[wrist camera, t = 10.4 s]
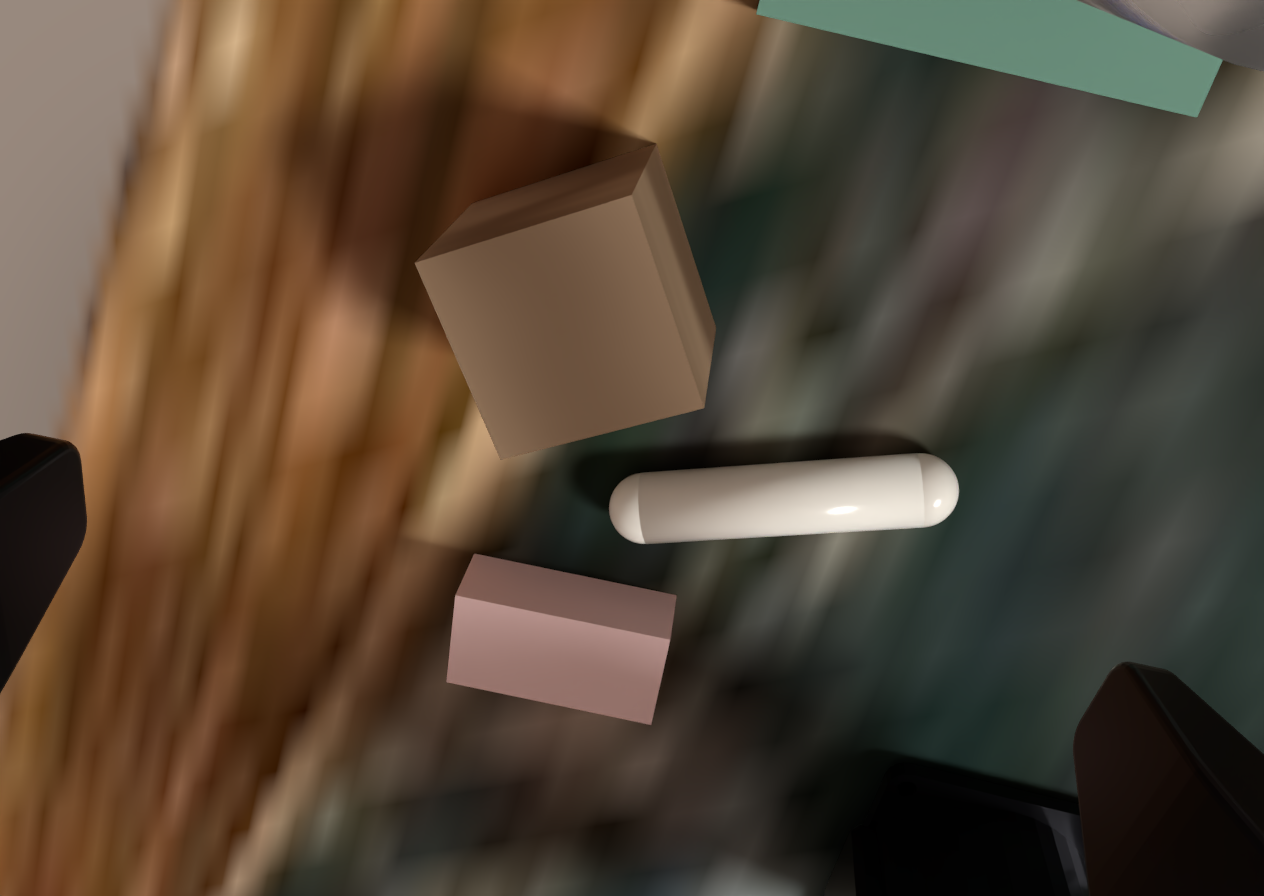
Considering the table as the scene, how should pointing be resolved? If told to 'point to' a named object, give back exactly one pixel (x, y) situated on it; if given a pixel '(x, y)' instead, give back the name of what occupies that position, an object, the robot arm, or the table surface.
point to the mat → (1026, 43)
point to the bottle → (1200, 24)
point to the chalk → (785, 499)
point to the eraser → (560, 638)
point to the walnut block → (574, 305)
